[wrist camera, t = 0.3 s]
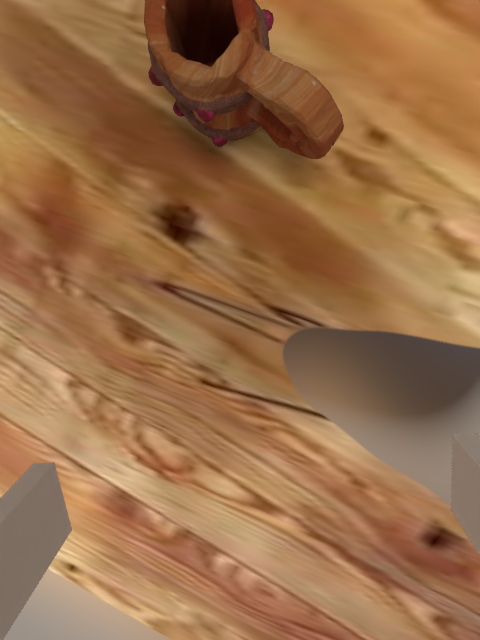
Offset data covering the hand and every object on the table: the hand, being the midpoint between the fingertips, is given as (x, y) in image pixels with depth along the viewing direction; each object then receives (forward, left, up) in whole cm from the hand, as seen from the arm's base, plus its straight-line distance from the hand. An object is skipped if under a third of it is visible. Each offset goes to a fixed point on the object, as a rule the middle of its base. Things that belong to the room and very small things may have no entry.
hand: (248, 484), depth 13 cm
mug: (-18, 0, -28) cm, 33 cm away
